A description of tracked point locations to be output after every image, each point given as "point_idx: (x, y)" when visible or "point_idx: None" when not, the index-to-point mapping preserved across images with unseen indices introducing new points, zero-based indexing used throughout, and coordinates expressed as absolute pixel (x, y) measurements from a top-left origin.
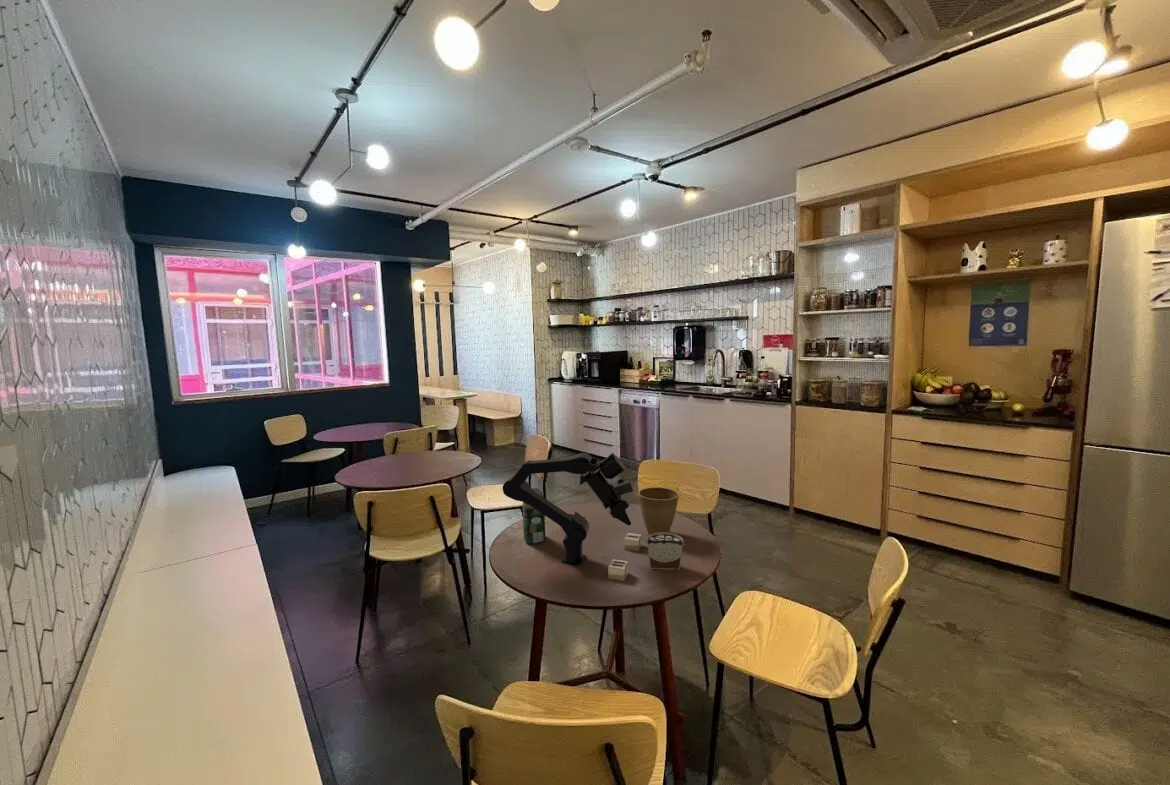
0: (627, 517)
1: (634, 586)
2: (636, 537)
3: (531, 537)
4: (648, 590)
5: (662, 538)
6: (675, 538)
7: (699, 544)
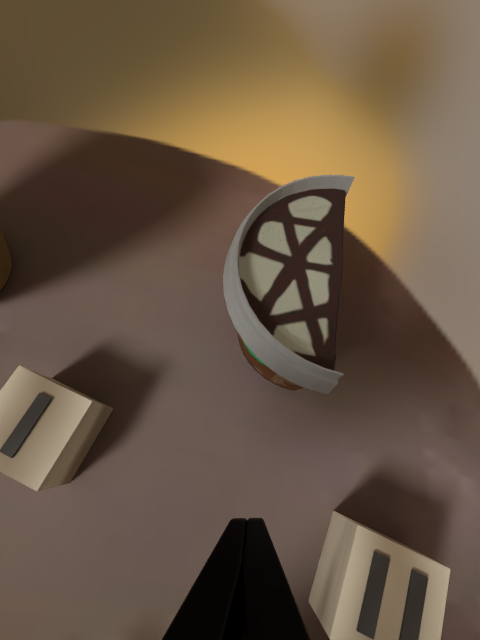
0: (307, 637)
1: (451, 499)
2: (49, 404)
3: None
4: (474, 440)
5: (295, 273)
6: (296, 207)
7: (118, 161)
